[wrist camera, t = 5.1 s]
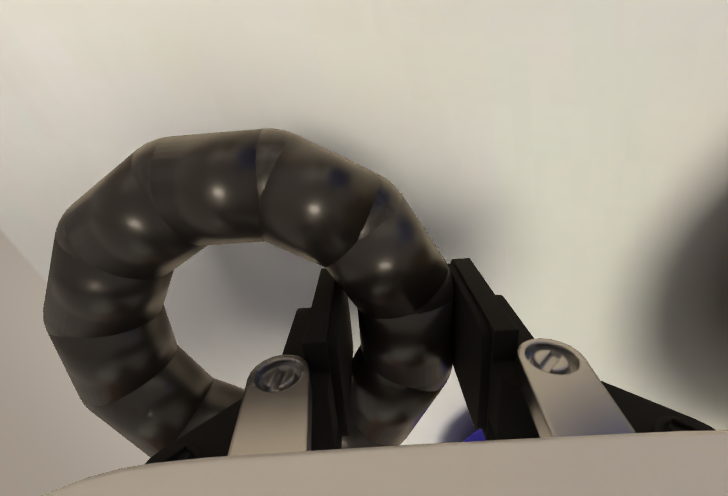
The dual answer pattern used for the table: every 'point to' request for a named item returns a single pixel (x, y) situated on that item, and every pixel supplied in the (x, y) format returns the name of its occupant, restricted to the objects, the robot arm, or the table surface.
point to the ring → (229, 226)
